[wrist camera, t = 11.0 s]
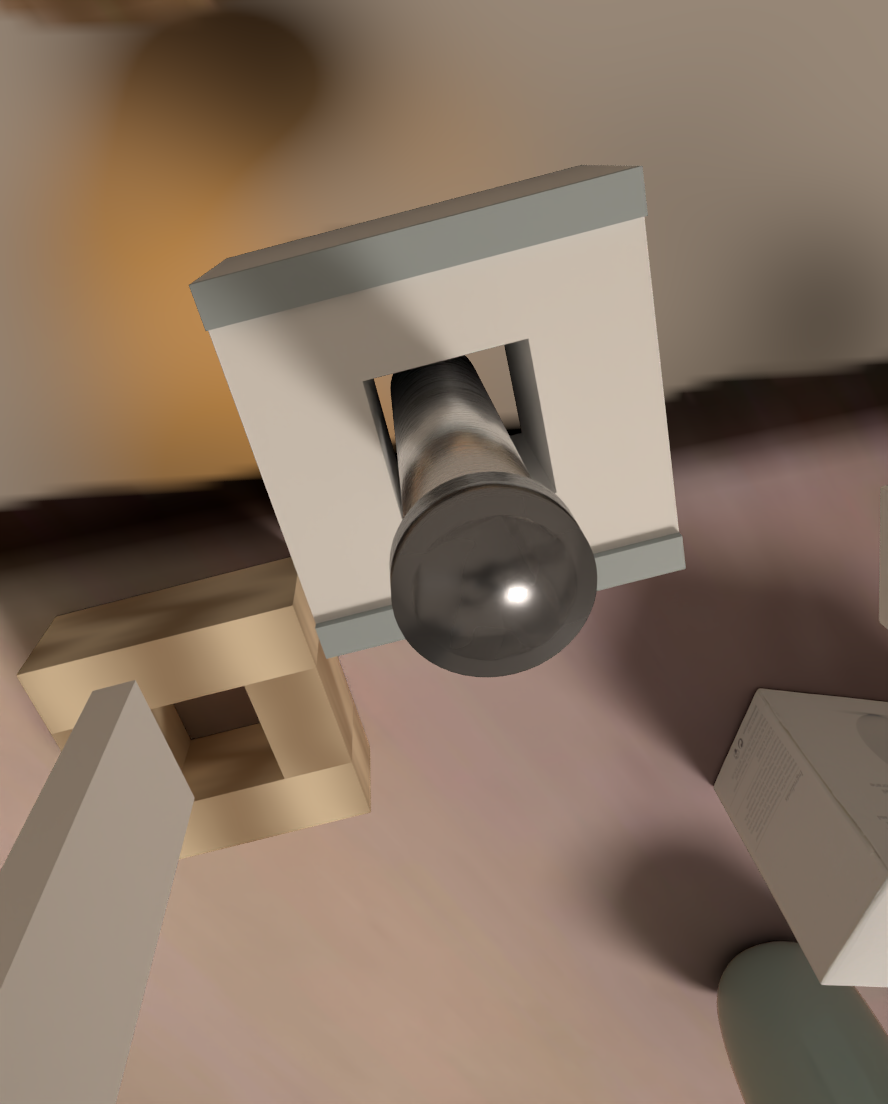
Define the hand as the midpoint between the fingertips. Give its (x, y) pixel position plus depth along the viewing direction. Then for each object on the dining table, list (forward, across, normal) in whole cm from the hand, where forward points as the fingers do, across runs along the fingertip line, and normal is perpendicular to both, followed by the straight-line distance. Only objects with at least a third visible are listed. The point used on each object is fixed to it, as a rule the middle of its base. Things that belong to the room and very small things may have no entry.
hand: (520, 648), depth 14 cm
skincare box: (+17, +14, -22) cm, 31 cm away
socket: (+17, 0, 0) cm, 17 cm away
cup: (+17, +10, -36) cm, 42 cm away
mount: (+17, -12, -10) cm, 23 cm away
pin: (+17, 0, 0) cm, 17 cm away
